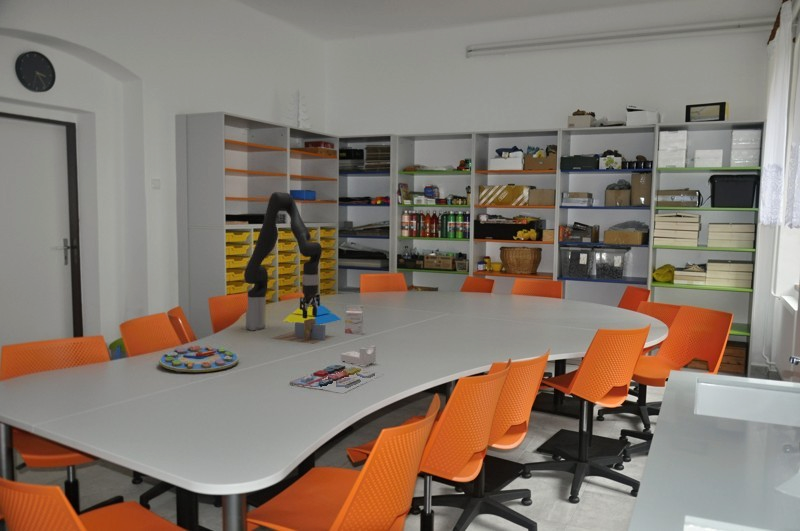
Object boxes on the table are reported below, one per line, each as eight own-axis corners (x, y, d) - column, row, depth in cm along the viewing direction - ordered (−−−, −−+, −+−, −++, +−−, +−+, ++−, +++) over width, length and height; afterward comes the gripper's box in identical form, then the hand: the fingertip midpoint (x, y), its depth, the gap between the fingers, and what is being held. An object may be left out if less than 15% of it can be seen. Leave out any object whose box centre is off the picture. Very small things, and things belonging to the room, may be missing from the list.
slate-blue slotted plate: (294, 336, 314) (294, 322, 313) (297, 336, 316) (297, 322, 315) (323, 340, 307) (323, 325, 307) (325, 339, 309) (325, 325, 309)
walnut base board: (270, 340, 309) (270, 338, 309) (293, 333, 327) (293, 331, 327) (312, 345, 299) (312, 343, 299) (334, 338, 318) (334, 336, 317)
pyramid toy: (315, 327, 350) (316, 301, 349) (280, 322, 363) (280, 297, 362) (342, 320, 372) (343, 296, 370) (308, 316, 384) (309, 292, 383)
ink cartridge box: (344, 334, 327) (344, 306, 326) (346, 333, 332) (346, 304, 331) (361, 335, 326) (361, 306, 325) (362, 333, 331) (363, 305, 330)
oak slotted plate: (304, 339, 309) (304, 320, 308) (311, 336, 315) (311, 318, 314) (308, 339, 308) (308, 320, 307) (315, 337, 314) (315, 319, 313)
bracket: (375, 364, 267) (375, 346, 267) (364, 367, 262) (364, 348, 261) (352, 359, 275) (352, 341, 275) (340, 362, 270) (340, 344, 269)
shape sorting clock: (164, 378, 239) (164, 362, 239) (154, 360, 266) (154, 346, 265) (247, 370, 253) (247, 355, 253) (229, 354, 280) (229, 340, 280)
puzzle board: (343, 395, 222) (343, 388, 222) (288, 386, 233) (288, 379, 232) (384, 376, 250) (384, 369, 250) (333, 368, 260) (333, 362, 260)
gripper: (311, 281, 317) (311, 314, 319) (295, 284, 304) (294, 318, 306) (324, 282, 314) (324, 315, 316) (308, 285, 301) (308, 320, 303)
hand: (309, 317), depth 311 cm, fingers open, 8 cm apart
